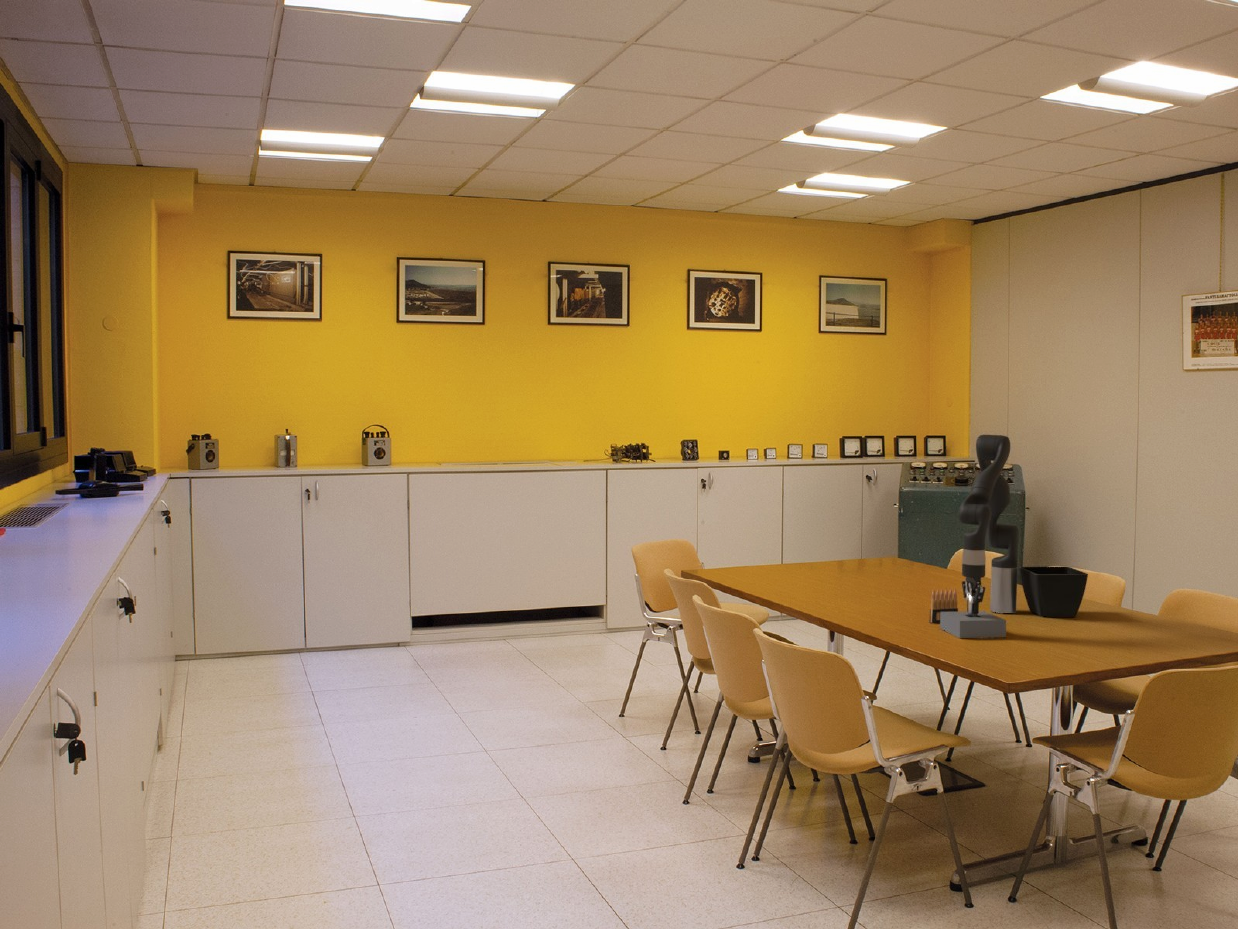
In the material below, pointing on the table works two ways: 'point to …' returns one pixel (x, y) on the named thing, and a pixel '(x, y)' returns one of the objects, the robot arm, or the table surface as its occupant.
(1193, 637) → the table surface
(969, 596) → the metal pin
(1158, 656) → the table surface
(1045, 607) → the flower pot
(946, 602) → the ammunition clip
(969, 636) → the socket block
